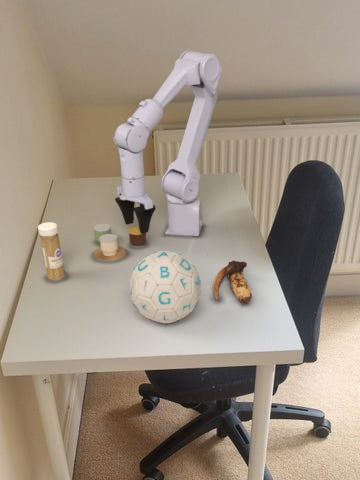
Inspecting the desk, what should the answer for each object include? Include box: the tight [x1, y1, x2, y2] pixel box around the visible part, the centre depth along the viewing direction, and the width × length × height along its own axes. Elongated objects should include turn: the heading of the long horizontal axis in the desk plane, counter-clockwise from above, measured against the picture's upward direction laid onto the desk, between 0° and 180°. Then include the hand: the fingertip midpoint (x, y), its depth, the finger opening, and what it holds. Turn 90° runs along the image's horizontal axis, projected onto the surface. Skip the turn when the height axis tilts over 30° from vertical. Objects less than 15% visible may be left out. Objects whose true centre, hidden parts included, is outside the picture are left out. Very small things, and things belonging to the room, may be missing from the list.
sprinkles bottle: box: [37, 221, 66, 281], centre depth 142 cm, size 5×5×13 cm
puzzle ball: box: [128, 250, 202, 325], centre depth 124 cm, size 15×15×15 cm
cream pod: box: [99, 233, 119, 256], centre depth 153 cm, size 5×5×4 cm
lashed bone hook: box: [212, 260, 253, 305], centre depth 136 cm, size 9×5×18 cm
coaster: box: [93, 246, 127, 261], centre depth 155 cm, size 8×8×1 cm
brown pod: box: [128, 226, 147, 247], centre depth 158 cm, size 5×5×4 cm
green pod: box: [93, 223, 112, 244], centre depth 161 cm, size 5×5×4 cm
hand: (136, 228), depth 157 cm, fingers open, 7 cm apart
